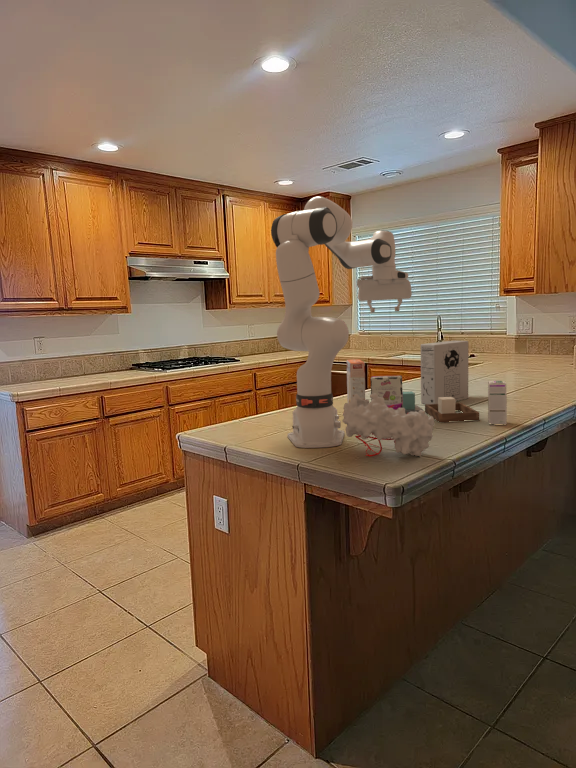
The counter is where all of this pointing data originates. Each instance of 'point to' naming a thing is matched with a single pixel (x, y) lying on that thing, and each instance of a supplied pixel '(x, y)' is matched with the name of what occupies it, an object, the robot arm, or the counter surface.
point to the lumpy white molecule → (388, 424)
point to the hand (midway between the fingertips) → (384, 311)
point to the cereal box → (444, 371)
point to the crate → (446, 417)
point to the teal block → (409, 400)
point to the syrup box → (497, 402)
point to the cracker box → (355, 379)
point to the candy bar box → (388, 390)
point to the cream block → (446, 405)
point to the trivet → (413, 409)
